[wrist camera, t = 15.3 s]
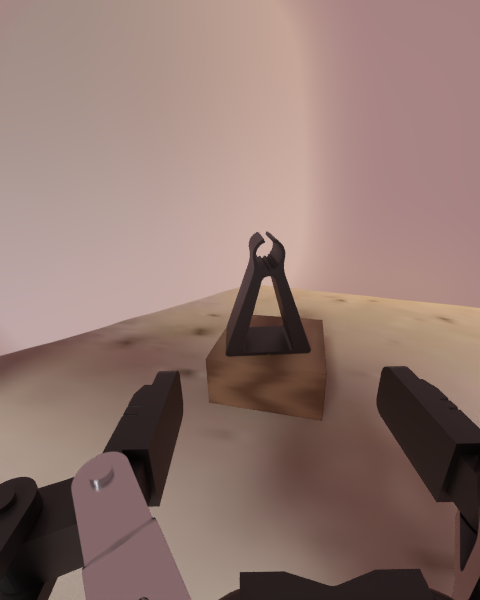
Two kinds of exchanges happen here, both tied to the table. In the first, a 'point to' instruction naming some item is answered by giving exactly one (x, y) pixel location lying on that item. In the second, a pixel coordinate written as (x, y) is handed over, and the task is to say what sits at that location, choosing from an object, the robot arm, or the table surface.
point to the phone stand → (238, 331)
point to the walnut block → (271, 375)
